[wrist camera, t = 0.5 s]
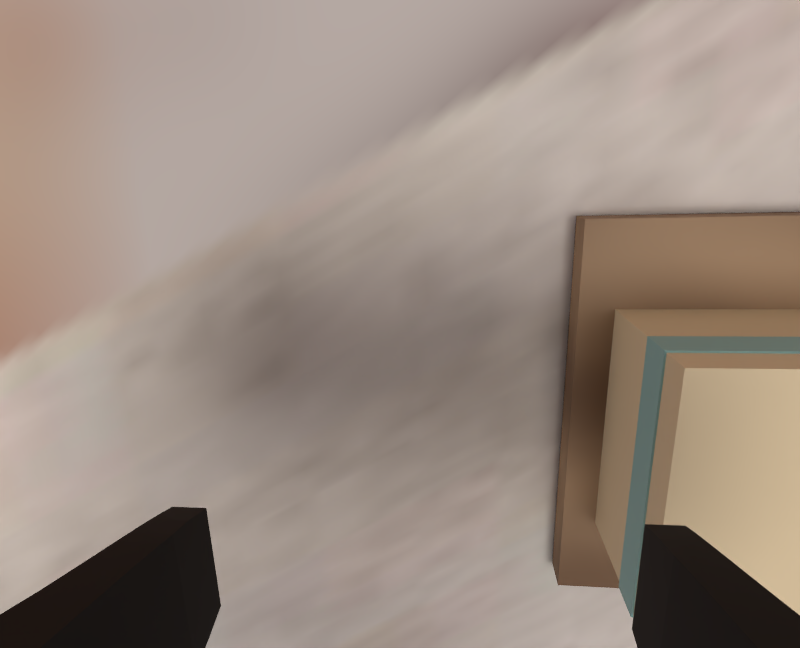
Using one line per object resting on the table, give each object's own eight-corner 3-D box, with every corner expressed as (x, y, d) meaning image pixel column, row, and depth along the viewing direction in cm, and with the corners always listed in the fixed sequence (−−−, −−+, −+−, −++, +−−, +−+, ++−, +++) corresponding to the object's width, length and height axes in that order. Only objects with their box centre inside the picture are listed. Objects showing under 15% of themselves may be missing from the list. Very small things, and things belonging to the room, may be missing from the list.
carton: (833, 533, 16) (977, 668, 11) (593, 523, 16) (643, 648, 12) (890, 307, 14) (1089, 369, 9) (613, 307, 14) (682, 365, 10)
